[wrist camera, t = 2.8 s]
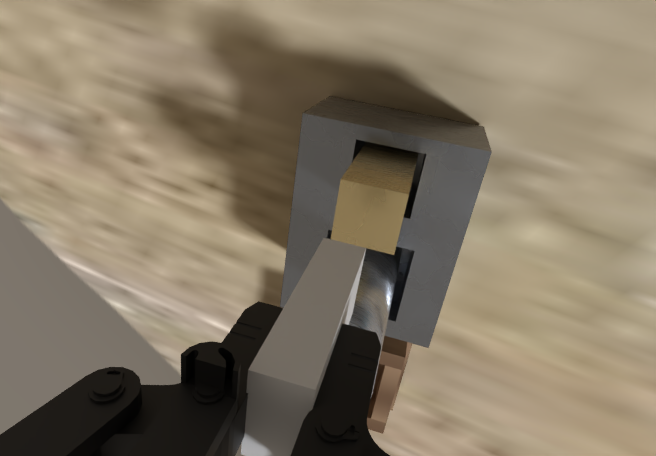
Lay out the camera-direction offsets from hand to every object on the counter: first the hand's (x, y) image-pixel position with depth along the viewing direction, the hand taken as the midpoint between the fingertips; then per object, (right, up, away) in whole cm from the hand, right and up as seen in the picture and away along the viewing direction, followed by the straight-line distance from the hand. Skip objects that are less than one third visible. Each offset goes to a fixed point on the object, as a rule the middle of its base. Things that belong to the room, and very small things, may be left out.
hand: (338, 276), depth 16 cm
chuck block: (+4, +3, +16) cm, 17 cm away
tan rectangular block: (+3, +5, +10) cm, 12 cm away
